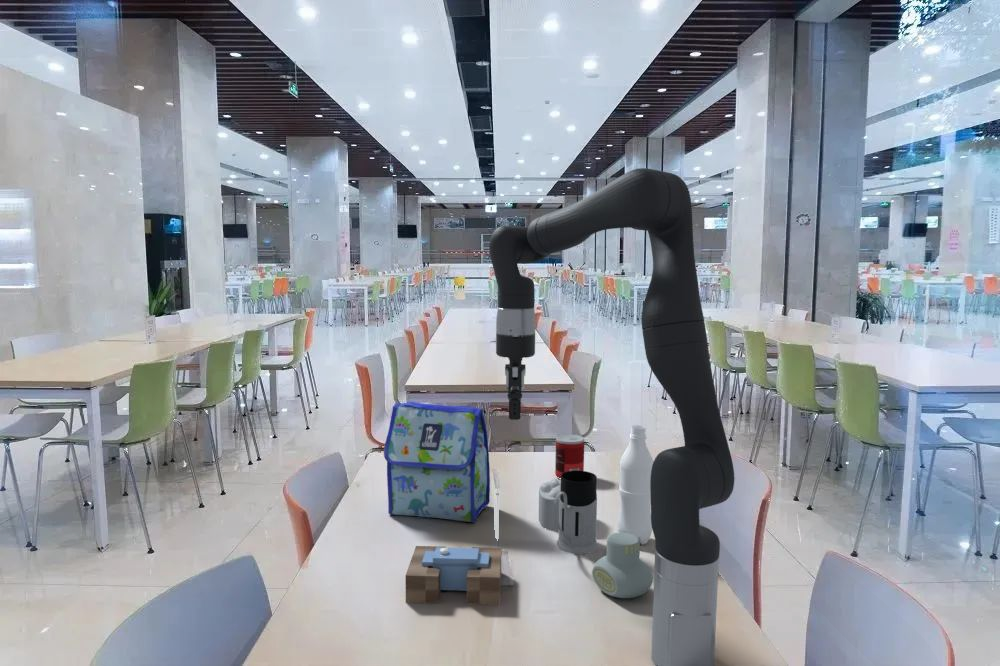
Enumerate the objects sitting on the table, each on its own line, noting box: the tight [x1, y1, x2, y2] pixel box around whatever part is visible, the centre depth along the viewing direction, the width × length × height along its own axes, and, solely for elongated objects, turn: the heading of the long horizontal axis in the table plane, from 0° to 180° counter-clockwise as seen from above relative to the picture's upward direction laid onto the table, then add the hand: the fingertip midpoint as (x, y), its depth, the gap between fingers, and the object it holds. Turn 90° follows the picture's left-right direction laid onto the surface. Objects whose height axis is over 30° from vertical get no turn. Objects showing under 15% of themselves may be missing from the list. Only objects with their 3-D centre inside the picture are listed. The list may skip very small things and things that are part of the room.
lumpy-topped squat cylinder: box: [538, 478, 561, 531], centre depth 156 cm, size 10×13×9 cm
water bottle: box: [617, 424, 654, 545], centre depth 143 cm, size 7×7×25 cm
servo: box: [422, 546, 490, 592], centre depth 124 cm, size 4×12×7 cm, turn 88°
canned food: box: [554, 434, 585, 478], centre depth 185 cm, size 8×8×11 cm
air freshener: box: [591, 532, 654, 599], centre depth 123 cm, size 11×8×10 cm
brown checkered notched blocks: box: [405, 545, 503, 606], centre depth 124 cm, size 12×16×5 cm
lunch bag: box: [383, 401, 491, 523], centre depth 159 cm, size 22×17×26 cm
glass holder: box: [554, 470, 599, 555], centre depth 139 cm, size 9×14×15 cm, turn 146°
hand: (514, 413), depth 131 cm, fingers open, 8 cm apart
